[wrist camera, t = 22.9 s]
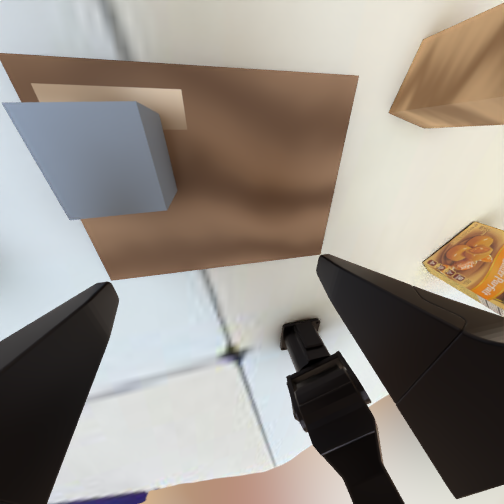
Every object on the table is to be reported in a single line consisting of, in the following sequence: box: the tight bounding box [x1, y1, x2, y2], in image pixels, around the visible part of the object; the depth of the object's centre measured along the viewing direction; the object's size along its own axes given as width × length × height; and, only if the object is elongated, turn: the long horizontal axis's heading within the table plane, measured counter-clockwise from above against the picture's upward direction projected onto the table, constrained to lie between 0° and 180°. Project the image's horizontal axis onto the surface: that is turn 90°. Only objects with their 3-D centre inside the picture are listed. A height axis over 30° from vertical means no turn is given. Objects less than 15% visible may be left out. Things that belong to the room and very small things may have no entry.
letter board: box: [0, 53, 359, 281], centre depth 18 cm, size 17×24×1 cm
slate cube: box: [2, 101, 177, 220], centre depth 12 cm, size 6×6×6 cm
